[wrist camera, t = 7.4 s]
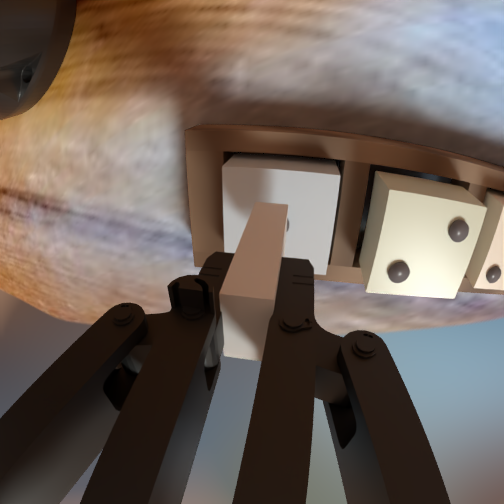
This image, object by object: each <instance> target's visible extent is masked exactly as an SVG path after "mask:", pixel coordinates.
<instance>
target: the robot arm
mask: <svg viewBox="0 0 504 504" xmlns="http://www.w3.org/2000/svg"><path fill="white" fill-rule="evenodd" d="M75 12H76V0H0V120H3V119H6V118H10V117H13V116H16V115H19V114H22V113H24V112H26V111H27V110H29V109H30V108H31V107H33V106H34V105H35V104H36V103H37V102H38V101H39V100H40V99H41V98H42V96H43V95H44V94H45V92H46V91H47V90H48V88H49V87H50V85H51V83H52V82H53V80H54V78H55V76H56V75H57V72H58V70H59V68H60V66H61V64H62V62H63V59H64V57H65V54H66V51H67V48H68V45H69V42H70V38H71V35H72V31H73V26H74V20H75ZM287 216H288V204H277V203H264V202H255V204H254V207H253V209H252V212H251V214H250V217H249V219H248V222H247V224H246V227H245V229H244V232H243V234H242V237H241V239H240V242H239V244H238V247H237V249H236V252H235V253H227V252H217V251H216V252H214V253H213V254H212V255H210V256H209V257H208V258H207V259H206V261H205V263H204V265H203V268H201V270H200V272H199V275H186V276H182V277H179V278H177V279H175V280H173V281H172V282H171V283H170V284H169V285H168V286H167V287H168V292H169V297H170V302H171V307H172V309H171V311H169V312H166V313H159V314H145V313H144V311H143V309H142V307H140V306H139V305H137V304H134V303H121V304H119V305H116V306H114V307H112V308H111V309H109V310H108V311H107V312H106V313H105V314H104V315H103V316H102V317H101V318H100V319H98V320H97V321H96V322H95V323H94V324H93V325H92V326H91V327H90V328H89V329H88V330H87V331H86V332H85V333H84V334H83V335H82V336H81V337H79V338H78V339H77V341H75V342H74V343H73V344H72V345H71V346H70V347H69V348H68V349H67V350H66V351H65V352H64V353H63V354H62V355H61V356H60V357H59V358H58V359H57V360H56V361H55V362H54V363H53V364H52V365H51V366H50V367H49V368H48V369H47V370H46V371H45V372H44V373H43V374H42V375H41V376H40V377H39V378H38V379H37V380H36V381H35V382H34V383H33V384H32V385H31V386H30V387H29V388H28V389H27V390H26V392H25V393H24V394H23V395H22V396H21V397H20V398H19V399H18V400H17V401H16V402H15V403H14V404H13V405H12V406H11V407H10V409H9V410H8V411H7V412H6V413H5V414H4V415H3V416H2V417H1V418H0V504H59V503H60V502H61V501H62V500H63V498H64V497H65V496H66V495H67V493H68V492H69V491H70V490H71V488H72V487H73V486H74V484H75V483H76V482H77V481H78V480H79V478H80V477H81V476H82V475H83V473H84V472H85V471H86V469H87V468H88V467H89V466H90V464H91V463H92V462H93V461H94V459H95V458H96V457H97V456H98V454H99V453H100V452H101V451H102V449H103V451H102V453H101V455H100V457H99V459H98V462H97V464H96V466H95V469H94V471H93V473H92V476H91V478H90V480H89V483H88V485H87V488H86V490H85V492H84V495H83V497H82V500H81V502H80V504H181V502H182V499H183V495H184V492H185V489H186V485H187V482H188V478H189V475H190V471H191V468H192V464H193V461H194V458H195V455H196V451H197V447H198V444H199V441H200V437H201V434H202V431H203V427H204V423H205V420H206V417H207V413H208V410H209V407H210V403H211V400H212V396H213V393H214V390H215V386H216V383H217V379H218V376H219V372H220V367H221V362H220V356H221V353H222V350H223V349H224V356H228V357H235V358H242V359H250V360H257V361H262V363H261V368H260V373H259V378H258V383H257V389H256V394H255V399H254V404H253V409H252V414H251V419H250V424H249V429H248V434H247V439H246V444H245V448H244V453H243V458H242V462H241V467H240V471H239V476H238V481H237V486H236V489H235V494H234V498H233V502H232V504H306V495H307V487H308V476H309V466H310V455H311V443H312V429H313V413H314V397H315V398H318V399H321V400H323V404H324V408H325V412H326V416H327V420H328V424H329V428H330V432H331V436H332V440H333V444H334V448H335V452H336V456H337V460H338V465H339V468H340V473H341V477H342V482H343V486H344V490H345V495H346V499H347V504H450V500H449V497H448V494H447V491H446V488H445V485H444V482H443V479H442V476H441V473H440V471H439V468H438V465H437V462H436V460H435V457H434V454H433V452H432V449H431V446H430V444H429V441H428V439H427V436H426V434H425V431H424V429H423V426H422V424H421V421H420V419H419V416H418V414H417V412H416V409H415V407H414V405H413V402H412V400H411V398H410V395H409V393H408V391H407V389H406V386H405V384H404V382H403V380H402V378H401V375H400V373H399V371H398V369H397V367H396V365H395V362H394V360H393V358H392V356H391V354H390V352H389V350H388V348H387V346H386V344H385V343H384V341H383V340H382V339H381V338H380V337H379V336H377V335H376V334H374V333H372V332H368V331H362V330H357V331H353V332H350V333H348V334H347V335H346V336H344V337H340V336H337V335H334V334H332V333H330V332H327V331H326V330H324V329H323V328H321V327H320V325H319V324H318V323H317V322H316V320H315V316H314V267H313V266H312V264H311V263H310V261H309V260H308V259H299V258H289V257H284V256H285V243H286V230H287Z"/></svg>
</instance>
